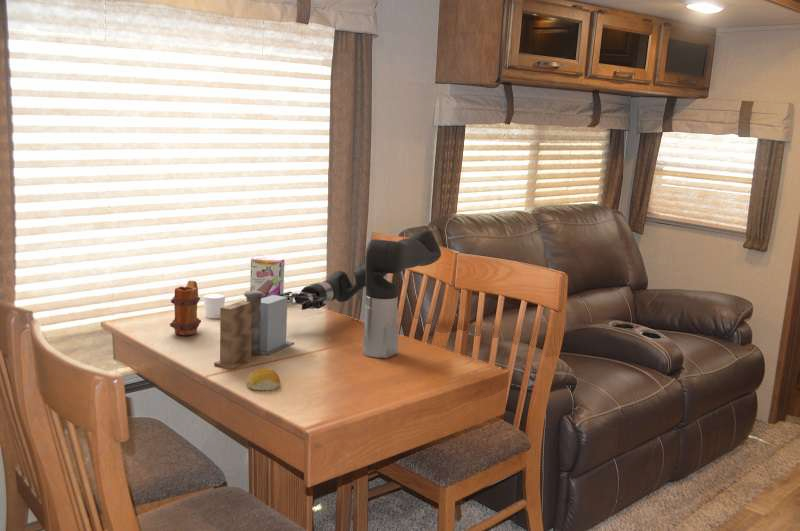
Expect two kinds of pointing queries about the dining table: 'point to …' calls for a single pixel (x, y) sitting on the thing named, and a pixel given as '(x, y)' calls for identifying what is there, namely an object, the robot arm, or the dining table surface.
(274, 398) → the dining table surface
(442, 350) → the dining table surface
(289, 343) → the seat pad
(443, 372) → the dining table surface
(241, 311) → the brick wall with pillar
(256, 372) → the bread roll
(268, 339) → the light grey block
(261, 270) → the candy bar box
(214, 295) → the beige cup
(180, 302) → the mug
